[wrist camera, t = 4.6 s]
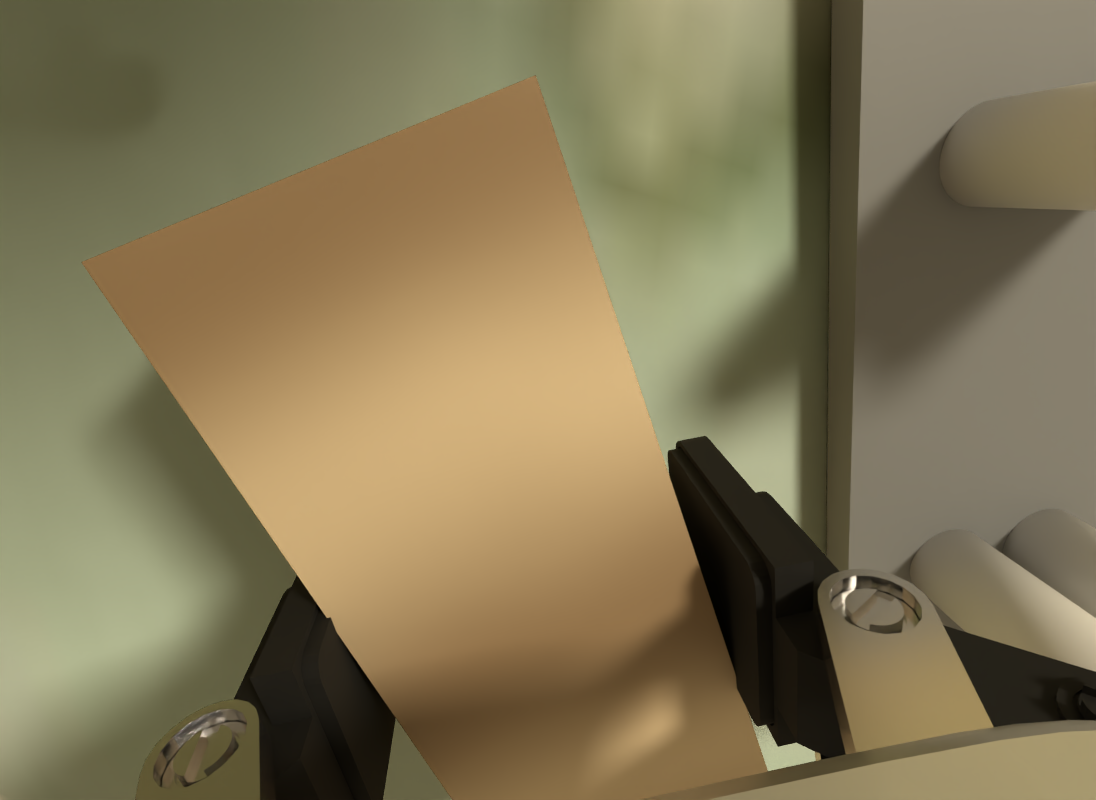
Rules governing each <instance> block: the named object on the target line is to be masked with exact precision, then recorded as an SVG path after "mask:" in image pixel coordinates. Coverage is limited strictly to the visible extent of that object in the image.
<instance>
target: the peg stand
mask: <svg viewBox="0 0 1096 800" xmlns="http://www.w3.org/2000/svg"><path fill="white" fill-rule="evenodd" d="M826 557H827V558H828V559H829V560H830V561H831V562H832V563H833V565H834V566H835V567H836V568H837V569H838V570H839V571H843V570H849V569H869V570H878V571H882V572H885V573H888V574H892V575H895V576H898V577H900V578H902V579H904V580H906V581H908V582H910V583H912V584H913V585H914V586H916V587H917V588H918V589H919V590H921V591H922V592H923V593H925V595H926V596H927V597H928V599H929V600H930V601H931V603H932V604H933V606H934V608H935V610H936V612H937V614H938V616H939V618H940V620H941V622H942V624H943V625H944V626H947V627H951V628H954V629H957V630H961V631H964V632H967V633H970V634H974V635H977V636H980V637H984V638H987V639H990V640H993V641H997V642H1000V643H1003V644H1007V645H1010V646H1013V647H1016V648H1020V649H1023V650H1026V651H1029V652H1033V653H1036V654H1039V655H1043V656H1046V657H1049V658H1052V659H1056V660H1059V661H1062V662H1066V663H1069V664H1072V665H1075V666H1079V667H1082V668H1085V669H1088V670H1092V671H1095V672H1096V0H832V30H831V135H830V239H829V343H828V447H827V552H826Z"/></svg>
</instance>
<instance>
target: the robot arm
mask: <svg viewBox="0 0 1096 800" xmlns="http://www.w3.org/2000/svg"><path fill="white" fill-rule="evenodd" d="M668 465H669V476H670V480H671V483H672V486H673V489H674V492H675V495H676V498H677V501H678V504H679V507H680V510H681V513H682V516H683V519H684V522H685V525H686V528H687V531H688V534H689V537H690V540H691V543H692V546H693V549H694V552H695V555H696V558H697V561H698V564H699V566H700V569H701V572H702V575H703V578H704V581H705V584H706V587H707V590H708V593H709V596H710V599H711V602H712V605H713V608H714V611H715V614H716V617H717V620H718V623H719V626H720V629H721V632H722V635H723V638H724V641H725V644H726V647H727V650H728V653H729V656H730V659H731V662H732V665H733V668H734V671H735V674H736V684H737V690H738V692H739V694H740V696H741V698H742V700H743V702H744V704H745V706H746V708H747V710H748V712H749V714H750V716H751V718H752V719H753V721H754V723H755V724H756V725H757V726H762V725H767V726H768V728H769V730H770V732H771V734H772V736H773V738H774V740H775V742H776V744H777V746H783V745H787V744H792V743H796V742H797V743H798V744H801V745H803V746H805V747H807V748H809V749H811V750H813V751H815V758H816V761H814V762H809V763H804V764H800V765H795V766H791V767H786V768H781V769H777V770H772V771H768V772H763V773H758V774H754V775H749V776H745V777H740V778H736V779H731V780H726V781H722V782H717V783H713V784H708V785H703V786H699V787H694V788H690V789H685V790H680V791H676V792H671V793H667V794H662V795H658V796H653V797H649V798H644V799H640V800H1096V672H1095V671H1092V670H1088V669H1085V668H1082V667H1079V666H1075V665H1072V664H1069V663H1066V662H1062V661H1059V660H1056V659H1052V658H1049V657H1046V656H1043V655H1039V654H1036V653H1033V652H1029V651H1026V650H1023V649H1020V648H1016V647H1013V646H1010V645H1007V644H1003V643H1000V642H997V641H993V640H990V639H987V638H984V637H980V636H977V635H974V634H970V633H967V632H964V631H961V630H957V629H954V628H951V627H947V626H944V625H943V624H942V622H941V620H940V618H939V616H938V614H937V612H936V610H935V608H934V606H933V604H932V603H931V601H930V600H929V599H928V597H927V596H926V595H925V593H923V592H922V591H921V590H919V589H918V588H917V587H916V586H914V585H913V584H912V583H910V582H908V581H906V580H904V579H902V578H900V577H898V576H895V575H892V574H888V573H885V572H882V571H878V570H869V569H849V570H843V571H839V570H838V569H837V568H836V567H835V566H834V565H833V563H832V562H831V561H830V560H829V559H828V558H827V557H826V556H825V555H824V554H823V552H822V551H821V550H820V549H819V548H818V547H817V546H816V545H815V544H814V542H813V541H812V540H811V539H810V538H809V537H808V536H807V535H806V534H805V533H804V531H803V530H802V529H801V528H800V527H799V526H798V525H797V524H796V523H795V522H794V520H793V519H792V518H791V517H790V516H789V515H788V514H787V513H786V512H785V511H784V509H783V508H782V507H781V506H780V505H779V504H778V503H777V502H776V501H775V499H774V498H773V497H772V496H771V495H769V494H768V493H767V492H763V491H762V492H757V493H755V492H754V491H753V489H752V488H751V487H750V486H749V485H748V484H747V482H746V481H745V480H744V479H743V478H742V477H741V476H740V474H739V473H738V472H737V471H736V470H735V469H734V467H733V466H732V465H731V464H730V463H729V462H728V461H727V459H726V458H725V457H724V456H723V455H722V454H721V452H720V451H719V450H718V449H717V448H716V447H715V446H714V444H713V443H712V442H711V441H710V440H709V439H708V438H707V437H706V436H702V437H697V438H692V439H687V440H682V441H677V443H676V449H674V450H669V451H668ZM395 718H396V717H395V716H394V715H393V713H392V712H391V710H390V709H389V707H388V706H387V704H386V703H385V702H384V700H383V699H382V697H381V696H380V694H379V693H378V691H377V690H376V688H375V687H374V686H373V684H372V683H371V681H370V680H369V678H368V677H367V675H366V674H365V673H364V671H363V670H362V668H361V667H360V665H359V664H358V662H357V661H356V660H355V658H354V657H353V655H352V654H351V652H350V651H349V649H348V648H347V646H346V645H345V644H344V642H343V641H342V639H341V638H340V636H339V635H338V633H337V632H336V629H335V627H334V624H333V622H332V619H331V617H329V618H327V617H326V616H325V615H324V613H323V612H322V610H321V609H320V607H319V606H318V604H317V603H316V602H315V600H314V599H313V597H312V596H311V594H310V593H309V591H308V590H307V589H306V587H305V586H304V584H303V583H302V581H301V580H300V578H299V577H298V575H297V576H296V578H295V581H294V583H293V585H292V587H291V588H289V589H287V590H286V591H285V593H284V594H283V596H282V598H281V600H280V602H279V604H278V607H277V609H276V611H275V613H274V615H273V617H272V619H271V621H270V624H269V626H268V628H267V630H266V632H265V634H264V636H263V638H262V641H261V643H260V645H259V647H258V649H257V651H256V653H255V655H254V658H253V660H252V662H251V664H250V666H249V668H248V670H247V672H246V675H245V677H244V679H243V681H242V683H241V685H240V687H239V689H238V692H237V694H236V696H235V698H234V700H226V701H220V702H217V703H215V704H212V705H209V706H206V707H204V708H202V709H200V710H198V711H197V712H195V713H193V714H191V715H189V716H187V717H186V718H185V719H184V720H182V721H181V722H180V723H178V724H177V725H176V726H174V727H173V728H172V729H171V730H170V731H169V732H168V733H167V734H166V735H165V736H164V737H163V738H162V739H161V740H160V741H159V742H158V743H157V744H156V745H155V747H154V748H153V750H152V751H151V753H150V754H149V756H148V757H147V758H146V760H145V763H144V765H143V768H142V770H141V773H140V776H139V781H138V786H137V791H136V796H135V800H383V795H384V789H385V782H386V776H387V769H388V763H389V757H390V750H391V744H392V737H393V731H394V725H395Z"/></svg>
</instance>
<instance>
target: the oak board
mask: <svg viewBox="0 0 1096 800" xmlns="http://www.w3.org/2000/svg"><path fill="white" fill-rule="evenodd" d="M82 264H83V265H84V267H85V268H86V270H87V271H88V273H89V274H90V276H91V277H92V278H93V280H94V281H95V283H96V284H97V286H98V287H99V289H100V290H101V291H102V293H103V294H104V296H105V297H106V299H107V300H108V302H109V303H110V304H111V306H112V307H113V309H114V310H115V312H116V313H117V315H118V316H119V318H120V319H121V320H122V322H123V323H124V325H125V326H126V328H127V329H128V331H129V332H130V333H131V335H132V336H133V338H134V339H135V341H136V342H137V344H138V345H139V347H140V348H141V349H142V351H143V352H144V354H145V355H146V357H147V358H148V360H149V361H150V362H151V364H152V365H153V367H154V368H155V370H156V371H157V373H158V374H159V375H160V377H161V378H162V380H163V381H164V383H165V384H166V386H167V387H168V389H169V390H170V391H171V393H172V394H173V396H174V397H175V399H176V400H177V402H178V403H179V404H180V406H181V407H182V409H183V410H184V412H185V413H186V415H187V416H188V418H189V419H190V420H191V422H192V423H193V425H194V426H195V428H196V429H197V431H198V432H199V433H200V435H201V436H202V438H203V439H204V441H205V442H206V444H207V445H208V447H209V448H210V449H211V451H212V452H213V454H214V455H215V457H216V458H217V460H218V461H219V462H220V464H221V465H222V467H223V468H224V470H225V471H226V473H227V474H228V475H229V477H230V478H231V480H232V481H233V483H234V484H235V486H236V487H237V489H238V490H239V491H240V493H241V494H242V496H243V497H244V499H245V500H246V502H247V503H248V504H249V506H250V507H251V509H252V510H253V512H254V513H255V515H256V516H257V518H258V519H259V520H260V522H261V523H262V525H263V526H264V528H265V529H266V531H267V532H268V533H269V535H270V536H271V538H272V539H273V541H274V542H275V544H276V545H277V546H278V548H279V549H280V551H281V552H282V554H283V555H284V557H285V558H286V560H287V561H288V562H289V564H290V565H291V567H292V568H293V570H294V571H295V573H296V574H297V575H298V577H299V578H300V580H301V581H302V583H303V584H304V586H305V587H306V589H307V590H308V591H309V593H310V594H311V596H312V597H313V599H314V600H315V602H316V603H317V604H318V606H319V607H320V609H321V610H322V612H323V613H324V615H325V616H326V617H327V618H329V617H331V619H332V622H333V624H334V627H335V629H336V632H337V633H338V635H339V636H340V638H341V639H342V641H343V642H344V644H345V645H346V646H347V648H348V649H349V651H350V652H351V654H352V655H353V657H354V658H355V660H356V661H357V662H358V664H359V665H360V667H361V668H362V670H363V671H364V673H365V674H366V675H367V677H368V678H369V680H370V681H371V683H372V684H373V686H374V687H375V688H376V690H377V691H378V693H379V694H380V696H381V697H382V699H383V700H384V702H385V703H386V704H387V706H388V707H389V709H390V710H391V712H392V713H393V715H394V716H395V717H396V719H397V720H398V722H399V723H400V725H401V726H402V728H403V729H404V731H405V732H406V733H407V735H408V736H409V738H410V739H411V741H412V742H413V744H414V745H415V746H416V748H417V749H418V751H419V752H420V754H421V755H422V757H423V758H424V759H425V761H426V762H427V764H428V765H429V767H430V768H431V770H432V771H433V773H434V774H435V775H436V777H437V778H438V780H439V781H440V783H441V784H442V786H443V787H444V788H445V790H446V791H447V793H448V794H449V796H450V797H451V799H452V800H640V799H644V798H649V797H653V796H658V795H662V794H667V793H671V792H676V791H680V790H685V789H690V788H694V787H699V786H703V785H708V784H713V783H717V782H722V781H726V780H731V779H736V778H740V777H745V776H749V775H754V774H758V773H763V772H768V770H767V767H766V764H765V761H764V758H763V755H762V752H761V749H760V746H759V743H758V740H757V737H756V734H755V731H754V728H753V725H752V722H751V719H750V716H749V713H748V710H747V708H746V706H745V704H744V702H743V700H742V698H741V696H740V694H739V692H738V690H737V684H736V674H735V671H734V668H733V665H732V662H731V659H730V656H729V653H728V650H727V647H726V644H725V641H724V638H723V635H722V632H721V629H720V626H719V623H718V620H717V617H716V614H715V611H714V608H713V605H712V602H711V599H710V596H709V593H708V590H707V587H706V584H705V581H704V578H703V575H702V572H701V569H700V566H699V564H698V561H697V558H696V555H695V552H694V549H693V546H692V543H691V540H690V537H689V534H688V531H687V528H686V525H685V522H684V519H683V516H682V513H681V510H680V507H679V504H678V501H677V498H676V495H675V492H674V489H673V486H672V483H671V480H670V477H669V474H668V471H667V468H666V465H665V462H664V459H663V456H662V453H661V450H660V447H659V444H658V441H657V438H656V435H655V432H654V429H653V426H652V423H651V420H650V417H649V414H648V411H647V408H646V405H645V402H644V399H643V396H642V393H641V390H640V387H639V384H638V381H637V378H636V375H635V372H634V369H633V366H632V363H631V360H630V357H629V354H628V351H627V348H626V345H625V342H624V339H623V336H622V333H621V330H620V327H619V324H618V321H617V318H616V315H615V312H614V309H613V306H612V303H611V300H610V297H609V294H608V291H607V288H606V285H605V282H604V279H603V276H602V273H601V270H600V267H599V264H598V261H597V258H596V255H595V252H594V249H593V246H592V243H591V240H590V237H589V234H588V231H587V228H586V225H585V222H584V219H583V216H582V213H581V210H580V207H579V204H578V201H577V198H576V195H575V192H574V189H573V186H572V183H571V180H570V177H569V174H568V171H567V168H566V165H565V162H564V159H563V156H562V153H561V150H560V147H559V144H558V141H557V138H556V135H555V132H554V129H553V126H552V123H551V120H550V117H549V114H548V111H547V108H546V105H545V102H544V99H543V96H542V93H541V90H540V87H539V84H538V81H537V78H536V75H535V76H533V77H530V78H528V79H525V80H523V81H520V82H518V83H516V84H513V85H511V86H508V87H506V88H503V89H501V90H499V91H496V92H494V93H491V94H489V95H486V96H484V97H482V98H479V99H477V100H474V101H472V102H469V103H467V104H465V105H462V106H460V107H457V108H455V109H452V110H450V111H448V112H445V113H443V114H440V115H438V116H435V117H433V118H430V119H428V120H426V121H423V122H421V123H418V124H416V125H413V126H411V127H409V128H406V129H404V130H401V131H399V132H396V133H394V134H392V135H389V136H387V137H384V138H382V139H379V140H377V141H375V142H372V143H370V144H367V145H365V146H362V147H360V148H358V149H355V150H353V151H350V152H348V153H345V154H343V155H341V156H338V157H336V158H333V159H331V160H328V161H326V162H324V163H321V164H319V165H316V166H314V167H311V168H309V169H307V170H304V171H302V172H299V173H297V174H294V175H292V176H290V177H287V178H285V179H282V180H280V181H277V182H275V183H273V184H270V185H268V186H265V187H263V188H260V189H258V190H256V191H253V192H251V193H248V194H246V195H243V196H241V197H239V198H236V199H234V200H231V201H229V202H226V203H224V204H222V205H219V206H217V207H214V208H212V209H209V210H207V211H205V212H202V213H200V214H197V215H195V216H192V217H190V218H187V219H185V220H183V221H180V222H178V223H175V224H173V225H170V226H168V227H166V228H163V229H161V230H158V231H156V232H153V233H151V234H149V235H146V236H144V237H141V238H139V239H136V240H134V241H132V242H129V243H127V244H124V245H122V246H119V247H117V248H115V249H112V250H110V251H107V252H105V253H102V254H100V255H98V256H95V257H93V258H90V259H88V260H85V261H83V262H82Z"/></svg>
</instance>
